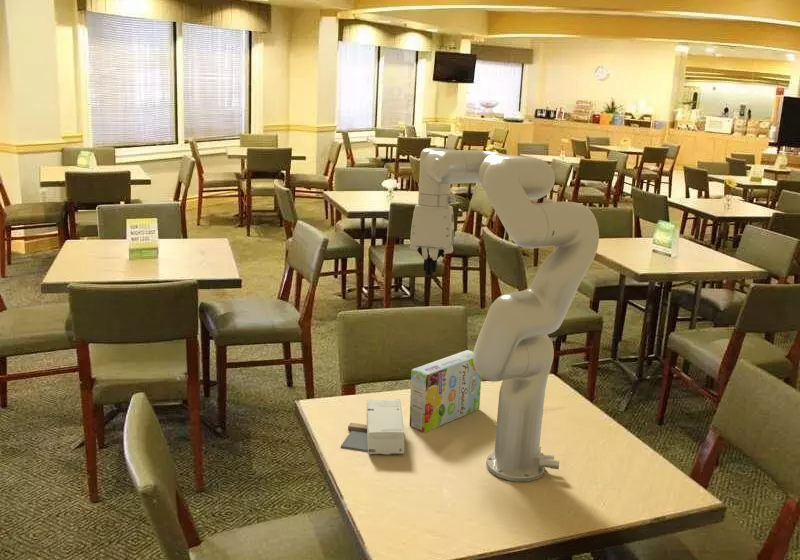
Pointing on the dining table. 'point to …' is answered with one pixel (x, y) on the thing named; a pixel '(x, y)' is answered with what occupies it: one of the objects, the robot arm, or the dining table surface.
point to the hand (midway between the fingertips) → (429, 274)
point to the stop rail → (357, 427)
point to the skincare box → (385, 427)
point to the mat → (357, 441)
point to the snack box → (444, 391)
